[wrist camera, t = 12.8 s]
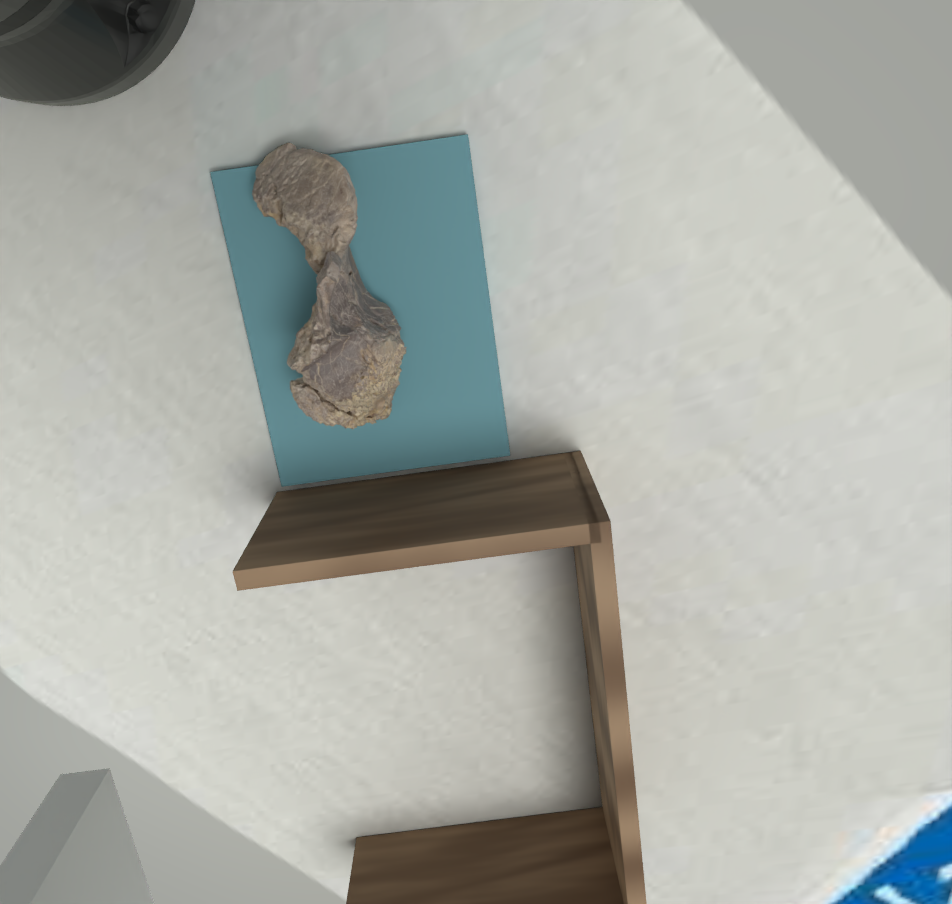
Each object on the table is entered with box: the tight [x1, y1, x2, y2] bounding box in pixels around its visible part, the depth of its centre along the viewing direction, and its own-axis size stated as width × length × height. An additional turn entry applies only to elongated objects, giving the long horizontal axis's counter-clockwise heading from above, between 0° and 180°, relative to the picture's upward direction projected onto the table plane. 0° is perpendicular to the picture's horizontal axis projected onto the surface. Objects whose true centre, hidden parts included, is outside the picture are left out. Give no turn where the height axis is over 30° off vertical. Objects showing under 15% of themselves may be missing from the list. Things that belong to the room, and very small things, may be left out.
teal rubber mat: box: [210, 134, 510, 487], centre depth 45 cm, size 17×13×1 cm
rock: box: [252, 143, 407, 429], centre depth 41 cm, size 6×14×7 cm, turn 9°
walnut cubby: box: [233, 451, 646, 904], centre depth 48 cm, size 26×18×10 cm
